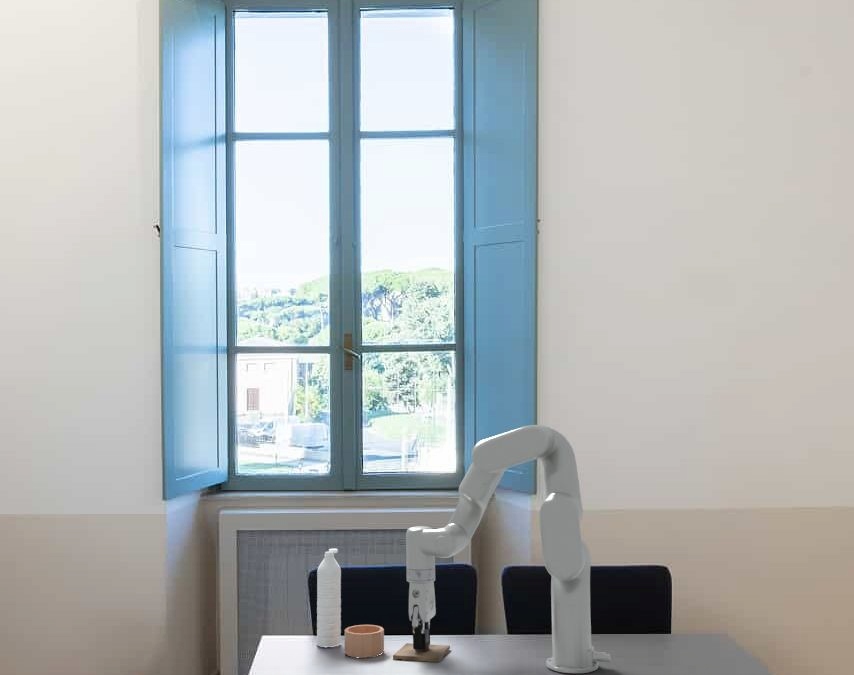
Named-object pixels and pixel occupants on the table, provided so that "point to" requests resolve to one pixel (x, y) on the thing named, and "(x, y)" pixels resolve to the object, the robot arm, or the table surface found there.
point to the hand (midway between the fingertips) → (421, 646)
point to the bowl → (364, 641)
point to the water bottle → (329, 601)
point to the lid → (422, 651)
